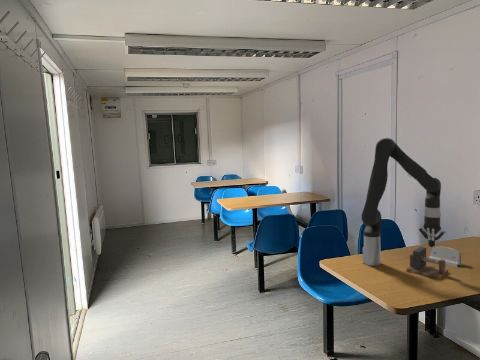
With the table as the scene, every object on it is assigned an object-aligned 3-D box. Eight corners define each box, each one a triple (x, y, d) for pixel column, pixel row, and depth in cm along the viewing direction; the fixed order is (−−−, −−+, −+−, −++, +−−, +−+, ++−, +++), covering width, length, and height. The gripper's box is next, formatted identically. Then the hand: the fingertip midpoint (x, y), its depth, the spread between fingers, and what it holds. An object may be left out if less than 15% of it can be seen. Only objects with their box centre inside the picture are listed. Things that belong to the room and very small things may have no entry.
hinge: (427, 260, 206) (430, 243, 207) (431, 260, 208) (434, 244, 209) (457, 267, 192) (460, 249, 193) (461, 268, 194) (464, 250, 195)
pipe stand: (406, 271, 190) (406, 256, 189) (415, 265, 198) (415, 251, 197) (440, 279, 177) (440, 263, 177) (448, 272, 185) (448, 257, 184)
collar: (413, 268, 188) (413, 251, 187) (420, 263, 195) (420, 246, 194) (418, 269, 186) (418, 252, 185) (426, 264, 193) (426, 247, 192)
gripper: (416, 215, 185) (416, 246, 187) (443, 218, 175) (442, 251, 177) (421, 212, 190) (421, 242, 192) (448, 215, 180) (447, 247, 182)
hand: (431, 246), depth 185 cm, fingers closed
